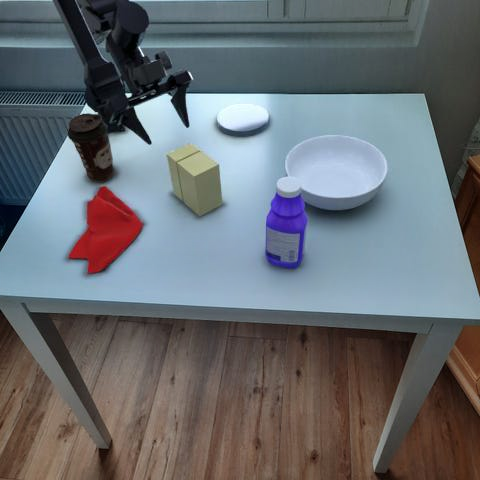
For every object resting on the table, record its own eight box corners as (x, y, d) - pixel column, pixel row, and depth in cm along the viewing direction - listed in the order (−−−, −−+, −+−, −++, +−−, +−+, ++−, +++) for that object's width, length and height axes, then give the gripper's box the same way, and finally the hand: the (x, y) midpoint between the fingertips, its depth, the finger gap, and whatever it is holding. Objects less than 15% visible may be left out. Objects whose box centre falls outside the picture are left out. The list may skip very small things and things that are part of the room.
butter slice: (174, 194, 103) (166, 153, 95) (196, 182, 105) (190, 142, 97) (182, 201, 101) (175, 161, 93) (205, 190, 103) (200, 149, 95)
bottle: (306, 252, 91) (314, 176, 77) (299, 273, 87) (305, 198, 74) (270, 245, 92) (271, 169, 78) (262, 265, 89) (261, 190, 75)
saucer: (214, 111, 123) (214, 106, 122) (264, 106, 123) (264, 100, 122) (220, 139, 115) (220, 133, 114) (272, 133, 116) (273, 127, 114)
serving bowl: (263, 195, 101) (263, 168, 96) (322, 151, 110) (325, 124, 105) (343, 238, 92) (348, 211, 87) (400, 187, 101) (408, 159, 96)
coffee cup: (125, 164, 111) (110, 111, 100) (116, 186, 106) (100, 133, 95) (89, 163, 111) (71, 110, 101) (78, 185, 106) (58, 132, 96)
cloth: (130, 274, 89) (127, 266, 87) (60, 273, 90) (55, 265, 88) (153, 187, 105) (151, 179, 103) (93, 187, 106) (90, 179, 104)
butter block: (183, 202, 101) (176, 162, 93) (206, 191, 103) (201, 150, 95) (199, 216, 98) (193, 176, 90) (222, 204, 100) (219, 164, 92)
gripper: (93, 55, 83) (138, 139, 86) (181, 24, 89) (220, 103, 92) (86, 84, 93) (127, 158, 96) (166, 54, 99) (202, 124, 102)
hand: (169, 135), depth 96 cm, fingers open, 9 cm apart
